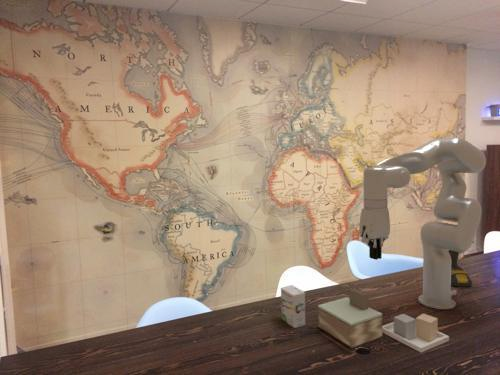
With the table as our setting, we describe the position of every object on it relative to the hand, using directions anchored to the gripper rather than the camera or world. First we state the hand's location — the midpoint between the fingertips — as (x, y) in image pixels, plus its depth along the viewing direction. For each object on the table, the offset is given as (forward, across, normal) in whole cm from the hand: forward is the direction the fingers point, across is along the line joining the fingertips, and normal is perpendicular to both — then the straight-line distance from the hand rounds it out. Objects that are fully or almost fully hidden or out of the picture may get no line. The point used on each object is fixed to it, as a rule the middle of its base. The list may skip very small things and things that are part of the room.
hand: (375, 258), depth 119 cm
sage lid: (+16, +12, 0) cm, 20 cm away
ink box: (+23, +23, -16) cm, 37 cm away
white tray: (+23, -3, +12) cm, 26 cm away
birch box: (+23, +12, 0) cm, 26 cm away
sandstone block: (+23, -6, +15) cm, 28 cm away
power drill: (+23, -59, -8) cm, 64 cm away
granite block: (+23, 0, +12) cm, 25 cm away
